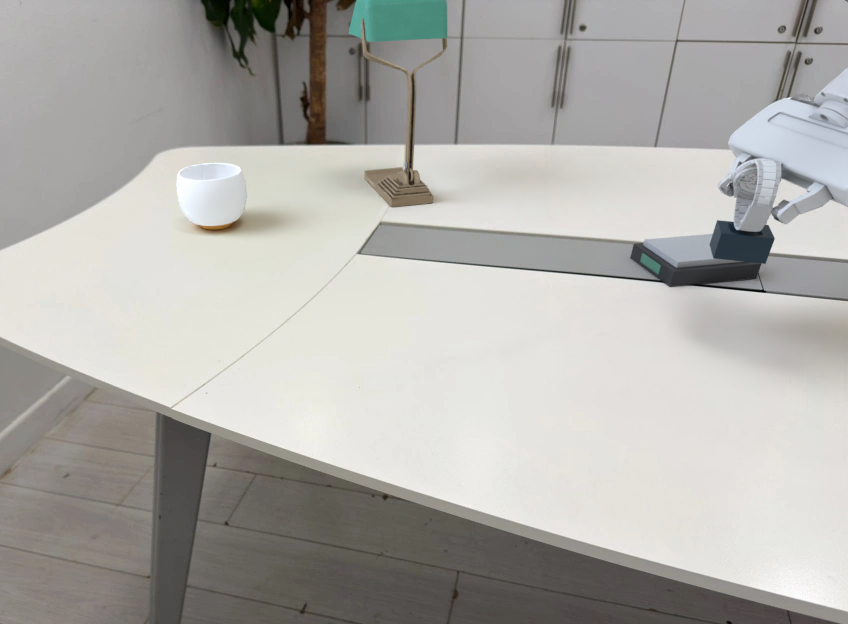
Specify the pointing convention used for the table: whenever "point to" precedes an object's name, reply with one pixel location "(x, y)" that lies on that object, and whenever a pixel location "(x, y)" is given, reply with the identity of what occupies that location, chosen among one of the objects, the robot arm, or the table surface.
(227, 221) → the cup
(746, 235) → the watch
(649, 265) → the scale
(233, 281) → the table surface
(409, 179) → the banker's lamp
